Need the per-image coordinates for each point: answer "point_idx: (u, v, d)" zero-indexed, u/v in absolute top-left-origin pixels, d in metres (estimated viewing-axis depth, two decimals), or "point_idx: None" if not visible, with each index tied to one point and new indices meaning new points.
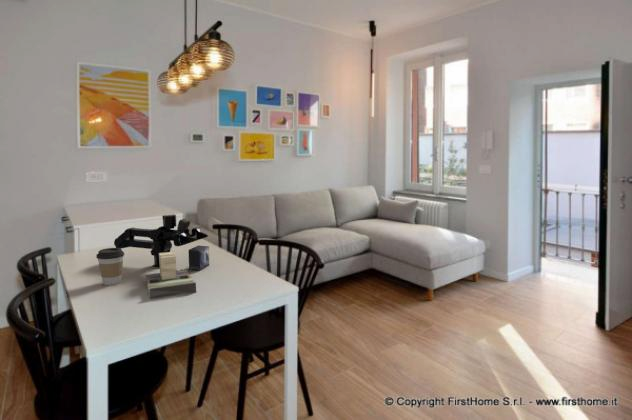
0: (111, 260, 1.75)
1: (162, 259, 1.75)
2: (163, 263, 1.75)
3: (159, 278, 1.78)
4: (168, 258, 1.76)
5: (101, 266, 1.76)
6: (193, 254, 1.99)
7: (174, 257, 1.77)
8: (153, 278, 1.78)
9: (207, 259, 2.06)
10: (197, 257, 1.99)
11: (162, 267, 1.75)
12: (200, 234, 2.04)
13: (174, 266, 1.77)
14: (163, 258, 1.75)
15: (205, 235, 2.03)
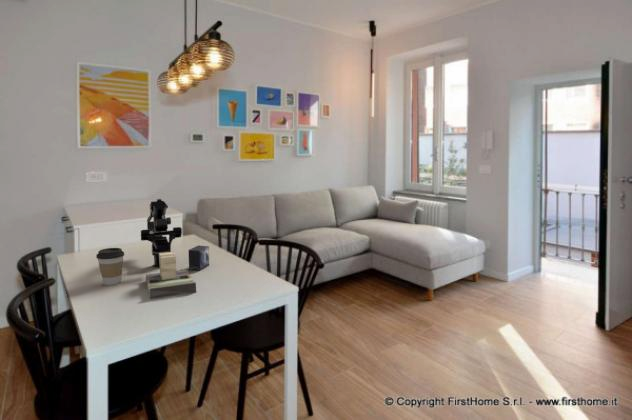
0: (111, 260, 1.75)
1: (162, 259, 1.75)
2: (163, 263, 1.75)
3: (159, 278, 1.78)
4: (168, 258, 1.76)
5: (101, 266, 1.76)
6: (193, 254, 1.99)
7: (174, 257, 1.77)
8: (153, 278, 1.78)
9: (207, 259, 2.06)
10: (197, 257, 1.99)
11: (162, 267, 1.75)
12: (169, 239, 1.97)
13: (174, 266, 1.77)
14: (163, 258, 1.75)
15: (169, 245, 1.95)
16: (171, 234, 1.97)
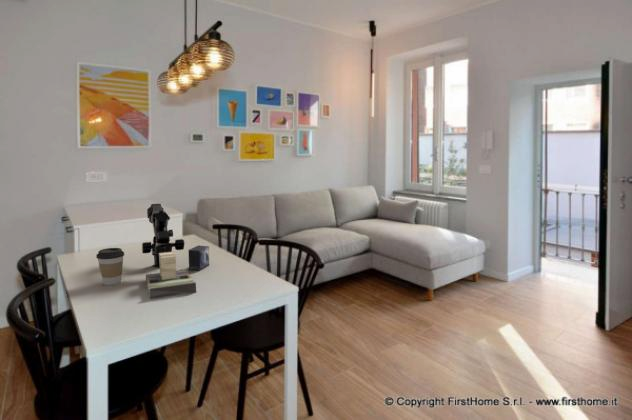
0: (111, 260, 1.75)
1: (162, 259, 1.75)
2: (163, 263, 1.75)
3: (159, 278, 1.78)
4: (168, 258, 1.76)
5: (101, 266, 1.76)
6: (193, 254, 1.99)
7: (174, 257, 1.77)
8: (153, 278, 1.78)
9: (207, 259, 2.06)
10: (197, 257, 1.99)
11: (162, 267, 1.75)
12: None
13: (174, 266, 1.77)
14: (163, 258, 1.75)
15: None
16: (167, 247, 1.90)
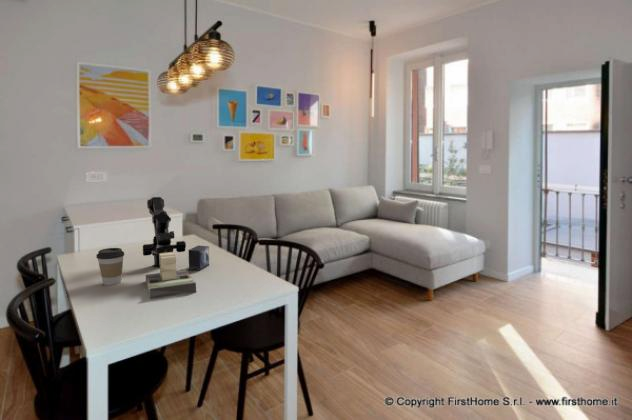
0: (111, 260, 1.75)
1: (162, 259, 1.74)
2: (163, 264, 1.74)
3: (159, 278, 1.78)
4: (168, 258, 1.75)
5: (101, 266, 1.76)
6: (193, 254, 1.99)
7: (174, 257, 1.76)
8: (153, 278, 1.78)
9: (207, 259, 2.06)
10: (197, 257, 1.99)
11: (162, 267, 1.75)
12: None
13: (174, 266, 1.77)
14: (163, 258, 1.74)
15: None
16: (168, 249, 1.86)
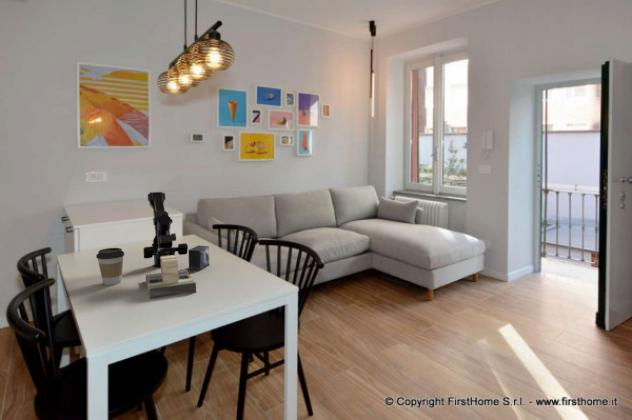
0: (111, 260, 1.75)
1: (164, 263, 1.69)
2: (164, 267, 1.69)
3: (159, 278, 1.78)
4: (170, 262, 1.70)
5: (101, 266, 1.76)
6: (193, 254, 1.99)
7: (176, 261, 1.71)
8: (153, 278, 1.78)
9: (207, 259, 2.06)
10: (197, 257, 1.99)
11: (164, 271, 1.69)
12: None
13: (176, 270, 1.72)
14: (165, 262, 1.69)
15: None
16: (170, 252, 1.81)
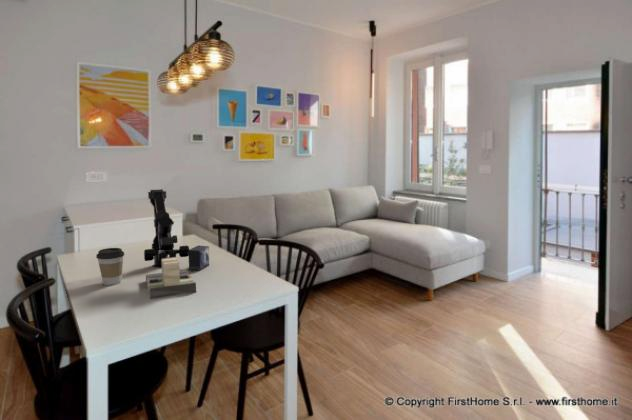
0: (111, 260, 1.75)
1: (165, 265, 1.65)
2: (166, 270, 1.65)
3: (159, 278, 1.78)
4: (171, 264, 1.66)
5: (101, 266, 1.76)
6: (193, 254, 1.99)
7: (177, 263, 1.67)
8: (153, 278, 1.78)
9: (207, 259, 2.06)
10: (197, 257, 1.99)
11: (165, 274, 1.66)
12: None
13: (177, 273, 1.68)
14: (166, 264, 1.65)
15: None
16: (171, 254, 1.77)
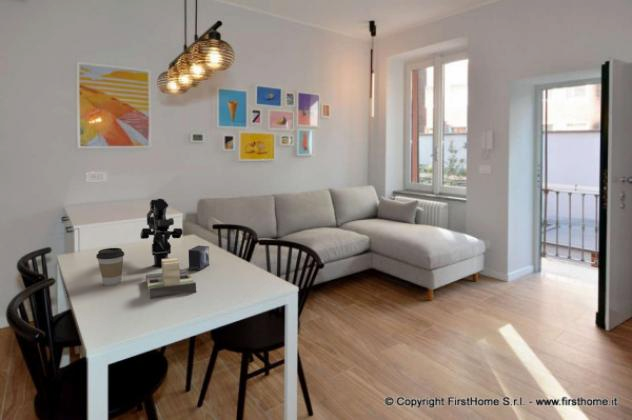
0: (111, 260, 1.75)
1: (165, 266, 1.65)
2: (166, 270, 1.65)
3: (159, 278, 1.78)
4: (171, 264, 1.66)
5: (101, 266, 1.76)
6: (193, 254, 1.99)
7: (178, 263, 1.67)
8: (153, 278, 1.78)
9: (207, 259, 2.06)
10: (197, 257, 1.99)
11: (165, 274, 1.65)
12: (163, 240, 1.95)
13: (178, 273, 1.67)
14: (166, 264, 1.65)
15: None
16: (166, 235, 1.95)
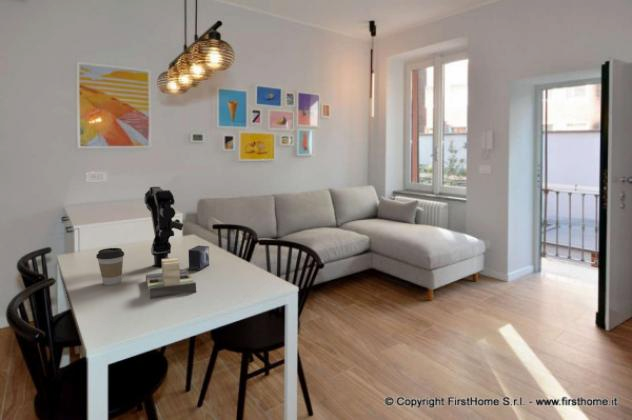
0: (111, 260, 1.75)
1: (165, 266, 1.65)
2: (166, 270, 1.65)
3: (159, 278, 1.78)
4: (171, 264, 1.66)
5: (101, 266, 1.76)
6: (193, 254, 1.99)
7: (178, 263, 1.67)
8: (153, 278, 1.78)
9: (207, 259, 2.06)
10: (197, 257, 1.99)
11: (165, 274, 1.65)
12: None
13: (178, 273, 1.67)
14: (166, 264, 1.65)
15: None
16: None
